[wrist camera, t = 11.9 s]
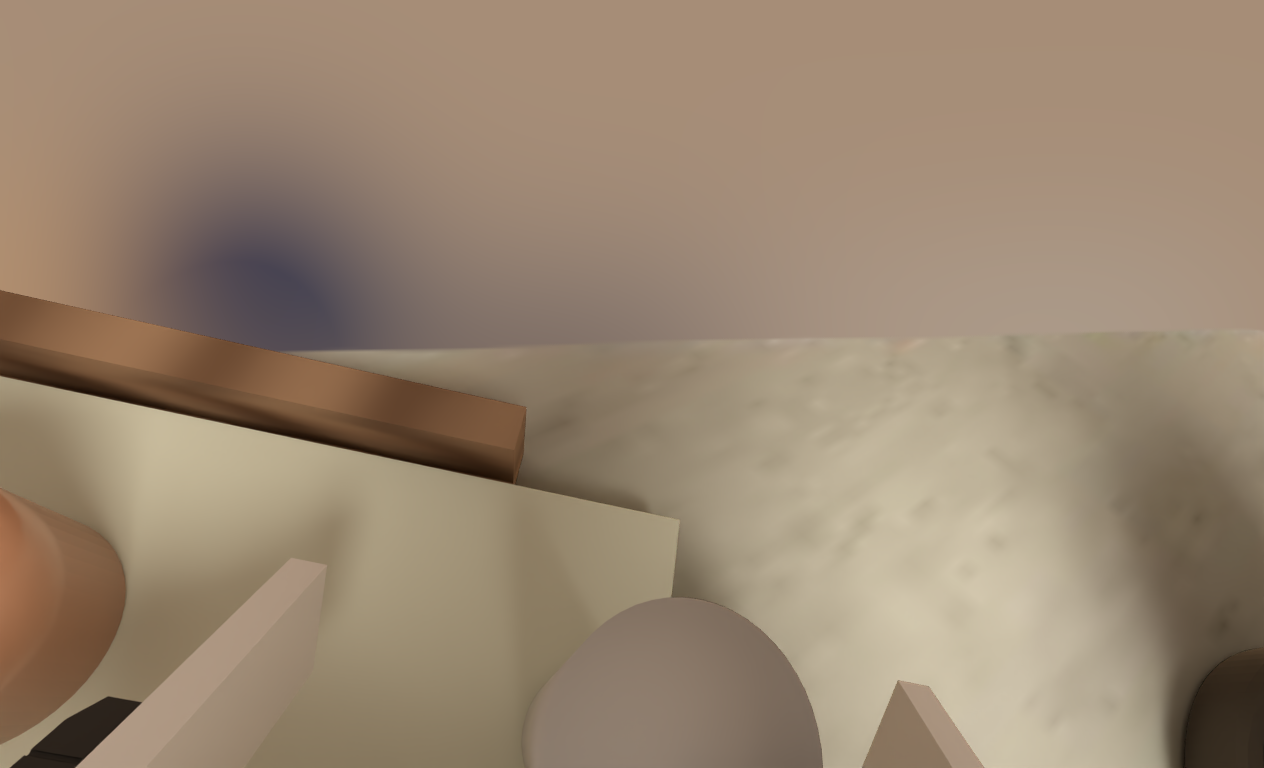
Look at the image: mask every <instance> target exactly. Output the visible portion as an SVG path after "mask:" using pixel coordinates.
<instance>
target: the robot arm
mask: <svg viewBox="0 0 1264 768" xmlns="http://www.w3.org/2000/svg"><path fill="white" fill-rule="evenodd" d="M326 570H327V565H325V564H320V563H315V562H310V561H305V560H300V559H295V558H290V559H289V560H288V561H287V562H286V563H285V564H284V565H283V566H282V567H281V568H280V569H279V570H278V571H277V572H276V573H275V574H274V575H273V576H272V577H271V578H270V579H269V580H268V581H267V582H266V583H265V584H264V585H263V586H262V587H261V588H260V589H259V590H257V591H256V592H255V593H254V594H253V595H252V596H251V597H250V598H249V599H248V600H247V601H246V602H245V603H244V604H243V605H242V606H241V607H240V608H239V609H238V610H237V611H236V612H235V613H234V614H233V615H232V616H231V617H230V618H229V619H228V620H227V621H226V622H225V623H224V624H223V625H222V626H220V627H219V628H218V629H217V630H216V631H215V632H214V633H213V634H212V635H211V636H210V637H209V638H208V639H207V640H206V641H205V642H204V643H203V644H202V645H201V646H200V647H199V648H198V649H197V650H196V651H195V652H194V653H193V654H192V655H191V656H190V657H189V658H188V659H187V660H186V661H184V662H183V663H182V664H181V665H180V666H179V667H178V668H177V669H176V670H175V671H174V672H173V673H172V674H171V675H170V676H169V677H168V678H167V679H166V680H165V681H164V682H163V683H162V684H161V685H160V686H159V687H158V688H157V689H156V690H155V691H154V692H153V693H152V694H151V695H150V696H148V697H147V698H146V699H145V700H144V701H143V702H138V701H132V700H126V699H121V698H115V697H110V696H108V697H106V698H104V699H102V700H100V701H98V702H96V703H95V704H93V705H91V706H89V707H87V708H85V709H83V710H82V711H80V712H78V713H76V714H74V715H72V716H70V717H69V718H67V719H65V720H64V721H63V722H62V723H61V724H59V725H58V726H57V727H56V728H55V729H54V730H53V731H51V732H50V733H49V734H48V735H47V736H46V737H45V738H43V739H42V740H41V741H40V742H39V743H38V744H36V745H35V746H34V747H33V748H32V749H31V751H30V753H29V754H28V755H27V756H25V755H24V756H23V757H21V758H20V759H19V760H18V761H17V762H16V763H15V764H13V765H12V766H11V767H10V768H244V767H245V766H246V765H247V763H248V762H249V760H250V759H251V758H252V756H253V755H254V753H255V752H256V750H257V749H258V748H259V746H260V745H261V743H262V742H263V741H264V739H265V738H266V736H267V735H268V734H269V732H270V731H271V729H272V728H273V727H274V725H275V724H276V722H277V721H278V720H279V718H280V717H281V715H282V714H283V712H284V711H285V710H286V708H287V707H288V705H289V704H290V703H291V701H292V700H293V698H294V697H295V696H296V694H297V693H298V691H299V690H300V689H301V687H302V686H303V684H304V683H305V682H306V680H307V679H308V677H309V676H310V674H311V673H312V672H313V666H314V659H315V651H316V644H317V636H318V629H319V622H320V614H321V607H322V599H323V592H324V585H325V577H326ZM862 768H984V767H983V765H982V764H981V762H980V761H979V759H978V758H977V756H976V755H975V753H974V752H973V750H972V749H971V748H970V746H969V745H968V743H967V742H966V740H965V739H964V737H963V736H962V734H961V733H960V731H959V730H958V728H957V727H956V726H955V724H954V723H953V721H952V720H951V718H950V717H949V715H948V714H947V712H946V711H945V709H944V708H943V707H942V705H941V704H940V702H939V701H938V699H937V698H936V696H935V695H934V693H933V692H932V690H931V689H930V687H929V686H924V685H919V684H914V683H909V682H904V681H899V680H898V681H897V684H896V686H895V689H894V691H893V694H892V696H891V698H890V701H889V703H888V706H887V708H886V711H885V713H884V715H883V718H882V720H881V723H880V725H879V728H878V730H877V732H876V735H875V737H874V740H873V742H872V745H871V747H870V749H869V752H868V754H867V757H866V759H865V762H864V764H863V766H862ZM1185 768H1264V648H1257V649H1251V650H1247V651H1244V652H1240V653H1238V654H1236V655H1233V656H1231V657H1229V658H1228V659H1226V660H1225V661H1223V662H1222V663H1220V664H1219V665H1218V666H1217V667H1216V668H1215V669H1214V670H1213V671H1212V672H1211V673H1210V674H1209V675H1208V677H1207V678H1206V679H1205V681H1204V682H1203V684H1202V685H1201V687H1200V689H1199V691H1198V693H1197V695H1196V698H1195V700H1194V703H1193V705H1192V709H1191V712H1190V716H1189V721H1188V726H1187V733H1186V743H1185Z"/></svg>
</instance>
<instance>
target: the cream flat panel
mask: <svg viewBox="0 0 1264 768" xmlns="http://www.w3.org/2000/svg"><path fill="white" fill-rule="evenodd" d="M0 488H2V489H5V490H7V491H9V492H11V493H14V494H16V495H18V496H21V497H23V498H25V499H27V500H30V501H32V502H34V503H37V504H39V505H41V506H43V507H46V508H48V509H50V510H53V511H55V512H57V513H59V514H62V515H64V516H66V517H68V518H71V519H73V520H75V521H78V522H80V523H82V524H84V525H86V526H89V527H90V528H92V529H93V530H95V531H96V532H98V533H99V534H100V535H101V536H103V537H104V538H105V539H106V540H107V541H108V542H109V543H110V545H111V546H112V548H113V549H114V550H115V552H116V554H117V556H118V558H119V560H120V562H121V564H122V568H123V572H124V576H125V587H126V593H125V605H124V610H123V614H122V619H121V622H120V625H119V627H118V630H117V633H116V635H115V638H114V640H113V642H112V644H111V646H110V648H109V650H108V651H107V653H106V655H105V656H104V658H103V659H102V661H101V662H100V664H99V665H98V667H97V668H96V669H95V671H94V672H93V673H92V675H91V676H90V677H89V678H88V680H87V681H86V682H85V683H84V684H83V685H82V686H81V687H80V688H79V690H78V691H77V692H76V693H75V694H74V695H73V696H72V697H71V698H70V699H69V700H67V701H66V702H65V703H64V704H63V705H62V706H61V707H59V708H58V709H57V710H56V711H55V712H54V713H52V714H51V715H49V716H48V717H47V718H45V719H44V720H43V721H41V722H40V723H39V724H37V725H35V726H34V727H32V728H31V729H29V730H27V731H26V732H24V733H22V734H21V735H19V736H17V737H15V738H13V739H11V740H9V741H7V742H5V743H3V744H1V745H0V768H10V767H11V766H12V765H13V764H15V763H16V762H17V761H18V760H19V759H20V758H21V757H23V756H24V755H25V756H27V755H28V754H29V753H30V751H31V749H32V748H33V747H34V746H35V745H36V744H38V743H39V742H40V741H41V740H42V739H43V738H45V737H46V736H47V735H48V734H49V733H50V732H51V731H53V730H54V729H55V728H56V727H57V726H58V725H59V724H61V723H62V722H63V721H64V720H65V719H67V718H69V717H70V716H72V715H74V714H76V713H78V712H80V711H82V710H83V709H85V708H87V707H89V706H91V705H93V704H95V703H96V702H98V701H100V700H102V699H104V698H106V697H108V696H110V697H115V698H121V699H126V700H132V701H138V702H143V701H144V700H145V699H146V698H147V697H148V696H150V695H151V694H152V693H153V692H154V691H155V690H156V689H157V688H158V687H159V686H160V685H161V684H162V683H163V682H164V681H165V680H166V679H167V678H168V677H169V676H170V675H171V674H172V673H173V672H174V671H175V670H176V669H177V668H178V667H179V666H180V665H181V664H182V663H183V662H184V661H186V660H187V659H188V658H189V657H190V656H191V655H192V654H193V653H194V652H195V651H196V650H197V649H198V648H199V647H200V646H201V645H202V644H203V643H204V642H205V641H206V640H207V639H208V638H209V637H210V636H211V635H212V634H213V633H214V632H215V631H216V630H217V629H218V628H219V627H220V626H222V625H223V624H224V623H225V622H226V621H227V620H228V619H229V618H230V617H231V616H232V615H233V614H234V613H235V612H236V611H237V610H238V609H239V608H240V607H241V606H242V605H243V604H244V603H245V602H246V601H247V600H248V599H249V598H250V597H251V596H252V595H253V594H254V593H255V592H256V591H257V590H259V589H260V588H261V587H262V586H263V585H264V584H265V583H266V582H267V581H268V580H269V579H270V578H271V577H272V576H273V575H274V574H275V573H276V572H277V571H278V570H279V569H280V568H281V567H282V566H283V565H284V564H285V563H286V562H287V561H288V560H289V559H290V558H295V559H300V560H305V561H310V562H315V563H320V564H325V565H327V570H326V577H325V585H324V592H323V599H322V607H321V614H320V622H319V629H318V636H317V644H316V651H315V659H314V666H313V672H312V673H311V674H310V676H309V677H308V679H307V680H306V682H305V683H304V684H303V686H302V687H301V689H300V690H299V691H298V693H297V694H296V696H295V697H294V698H293V700H292V701H291V703H290V704H289V705H288V707H287V708H286V710H285V711H284V712H283V714H282V715H281V717H280V718H279V720H278V721H277V722H276V724H275V725H274V727H273V728H272V729H271V731H270V732H269V734H268V735H267V736H266V738H265V739H264V741H263V742H262V743H261V745H260V746H259V748H258V749H257V750H256V752H255V753H254V755H253V756H252V758H251V759H250V760H249V762H248V763H247V765H246V766H245V767H244V768H823V763H822V749H821V743H820V738H819V732H818V727H817V723H816V720H815V716H814V713H813V709H812V706H811V704H810V701H809V699H808V696H807V694H806V691H805V689H804V687H803V685H802V683H801V681H800V679H799V677H798V675H797V673H796V672H795V670H794V669H793V667H792V666H791V664H790V663H789V661H788V660H787V658H786V657H785V655H784V654H783V653H782V652H781V650H780V649H779V648H778V647H777V646H776V644H775V643H774V642H773V641H772V640H771V639H770V638H769V637H768V636H767V635H766V634H765V633H764V632H763V631H762V630H761V629H759V628H758V627H757V626H755V625H754V624H753V623H751V622H750V621H749V620H747V619H746V618H744V617H742V616H741V615H739V614H737V613H736V612H734V611H732V610H730V609H728V608H725V607H723V606H720V605H718V604H715V603H712V602H708V601H704V600H701V599H694V598H686V597H671V596H672V587H673V578H674V569H675V560H676V551H677V542H678V534H679V525H680V520H679V519H674V518H669V517H665V516H660V515H655V514H650V513H646V512H641V511H636V510H631V509H627V508H622V507H617V506H612V505H608V504H603V503H598V502H594V501H589V500H584V499H579V498H575V497H570V496H565V495H560V494H556V493H551V492H546V491H541V490H537V489H532V488H527V487H522V486H518V485H513V484H508V483H504V482H499V481H494V480H489V479H485V478H480V477H475V476H470V475H466V474H461V473H456V472H451V471H447V470H442V469H437V468H433V467H428V466H423V465H418V464H414V463H409V462H404V461H399V460H395V459H390V458H385V457H380V456H376V455H371V454H366V453H362V452H357V451H352V450H347V449H343V448H338V447H333V446H328V445H324V444H319V443H314V442H309V441H305V440H300V439H295V438H290V437H286V436H281V435H276V434H272V433H267V432H262V431H257V430H253V429H248V428H243V427H238V426H234V425H229V424H224V423H219V422H215V421H210V420H205V419H201V418H196V417H191V416H186V415H182V414H177V413H172V412H167V411H163V410H158V409H153V408H148V407H144V406H139V405H134V404H129V403H125V402H120V401H115V400H111V399H106V398H101V397H96V396H92V395H87V394H82V393H77V392H73V391H68V390H63V389H58V388H54V387H49V386H44V385H40V384H35V383H30V382H25V381H21V380H16V379H11V378H6V377H2V376H0Z"/></svg>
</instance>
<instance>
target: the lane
mask: <svg viewBox="0 0 1264 768" xmlns="http://www.w3.org/2000/svg"><path fill="white" fill-rule="evenodd" d="M0 376H2V377H6V378H11V379H16V380H21V381H25V382H30V383H35V384H40V385H44V386H49V387H54V388H58V389H63V390H68V391H73V392H77V393H82V394H87V395H92V396H96V397H101V398H106V399H111V400H115V401H120V402H125V403H129V404H134V405H139V406H144V407H148V408H153V409H158V410H163V411H167V412H172V413H177V414H182V415H186V416H191V417H196V418H201V419H205V420H210V421H215V422H219V423H224V424H229V425H234V426H238V427H243V428H248V429H253V430H257V431H262V432H267V433H272V434H276V435H281V436H286V437H290V438H295V439H300V440H305V441H309V442H314V443H319V444H324V445H328V446H333V447H338V448H343V449H347V450H352V451H357V452H362V453H366V454H371V455H376V456H380V457H385V458H390V459H395V460H399V461H404V462H409V463H414V464H418V465H423V466H428V467H433V468H437V469H442V470H447V471H451V472H456V473H461V474H466V475H470V476H475V477H480V478H485V479H489V480H494V481H499V482H504V483H508V484H513V485H515V483H516V479H517V476H518V472H519V468H520V465H521V461H522V457H523V452H524V437H525V421H526V407H523V406H519V405H514V404H510V403H505V402H501V401H496V400H492V399H487V398H483V397H478V396H474V395H469V394H465V393H460V392H456V391H451V390H447V389H442V388H438V387H433V386H429V385H424V384H420V383H415V382H411V381H406V380H402V379H397V378H393V377H388V376H384V375H379V374H375V373H370V372H366V371H361V370H357V369H352V368H348V367H343V366H339V365H334V364H330V363H325V362H320V361H316V360H311V359H307V358H302V357H298V356H293V355H289V354H284V353H280V352H275V351H271V350H266V349H261V348H257V347H253V346H248V345H244V344H239V343H235V342H230V341H226V340H221V339H217V338H212V337H207V336H203V335H199V334H194V333H190V332H185V331H181V330H176V329H172V328H167V327H162V326H158V325H154V324H149V323H145V322H140V321H136V320H131V319H127V318H122V317H118V316H113V315H109V314H104V313H100V312H95V311H91V310H86V309H82V308H77V307H73V306H68V305H63V304H59V303H54V302H50V301H45V300H41V299H37V298H32V297H28V296H23V295H19V294H14V293H10V292H5V291H1V290H0Z"/></svg>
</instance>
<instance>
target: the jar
mask: <svg viewBox="0 0 1264 768" xmlns="http://www.w3.org/2000/svg"><path fill="white" fill-rule="evenodd" d="M125 593H126V587H125V576H124V572H123V568H122V564H121V562H120V560H119V558H118V556H117V554H116V552H115V550H114V549H113V548H112V546H111V545H110V543H109V542H108V541H107V540H106V539H105V538H104V537H103V536H101V535H100V534H99V533H98V532H96V531H95V530H93V529H92V528H90V527H89V526H86V525H84V524H82V523H80V522H78V521H75V520H73V519H71V518H68V517H66V516H64V515H62V514H59V513H57V512H55V511H53V510H50V509H48V508H46V507H43V506H41V505H39V504H37V503H34V502H32V501H30V500H27V499H25V498H23V497H21V496H18V495H16V494H14V493H11V492H9V491H7V490H5V489H2V488H0V745H1V744H3V743H5V742H7V741H9V740H11V739H13V738H15V737H17V736H19V735H21V734H22V733H24V732H26V731H27V730H29V729H31V728H32V727H34V726H35V725H37V724H39V723H40V722H41V721H43V720H44V719H45V718H47V717H48V716H49V715H51V714H52V713H54V712H55V711H56V710H57V709H58V708H59V707H61V706H62V705H63V704H64V703H65V702H66V701H67V700H69V699H70V698H71V697H72V696H73V695H74V694H75V693H76V692H77V691H78V690H79V688H80V687H81V686H82V685H83V684H84V683H85V682H86V681H87V680H88V678H89V677H90V676H91V675H92V673H93V672H94V671H95V669H96V668H97V667H98V665H99V664H100V662H101V661H102V659H103V658H104V656H105V655H106V653H107V651H108V650H109V648H110V646H111V644H112V642H113V640H114V638H115V635H116V633H117V630H118V627H119V625H120V622H121V619H122V614H123V610H124V605H125Z"/></svg>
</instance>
